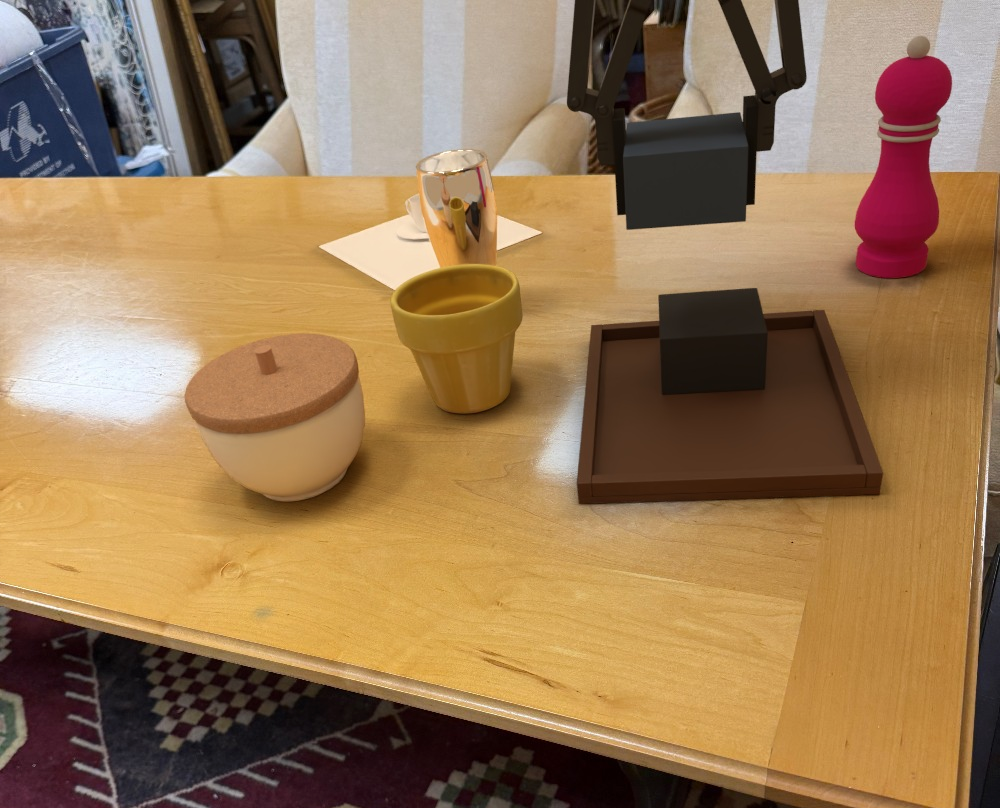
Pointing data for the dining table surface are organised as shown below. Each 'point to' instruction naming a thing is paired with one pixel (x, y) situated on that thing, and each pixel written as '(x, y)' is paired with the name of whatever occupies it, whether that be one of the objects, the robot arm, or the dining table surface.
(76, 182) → the dining table surface
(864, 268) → the pepper mill
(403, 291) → the flower pot
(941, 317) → the dining table surface
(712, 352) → the pad
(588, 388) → the brown square tray
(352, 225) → the dining table surface
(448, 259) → the shiny metal vase
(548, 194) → the dining table surface
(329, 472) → the lidded bowl
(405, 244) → the teacup and saucer
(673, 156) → the pad
